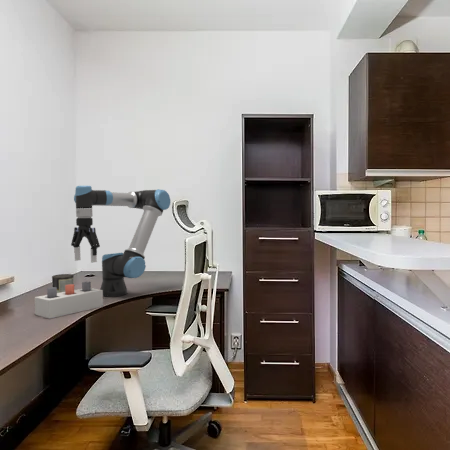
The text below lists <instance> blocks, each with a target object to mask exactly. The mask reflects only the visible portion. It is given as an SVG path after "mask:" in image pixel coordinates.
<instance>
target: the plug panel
mask: <svg viewBox="0 0 450 450" xmlns="http://www.w3.org/2000/svg"><path fill="white" fill-rule="evenodd" d="M103 298H104V296H103V290H100V289H98V288H93V287H91V291H87V292H83V291H82V288H78V289H74V294H71V295H65V292H61V293H57V297H55V298H47V294H45V295H40V296H35V297H34V315H35V316H39V317H42V318H44V319H45V318H46V319H49V320H50V319H54V318H58V317H62V316H68V315H71V314H76V313H79V312H84V311H89V310H93V309H97V308H103V307H104V299H103Z"/></svg>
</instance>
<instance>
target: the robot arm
mask: <svg viewBox="0 0 450 450" xmlns="http://www.w3.org/2000/svg"><path fill="white" fill-rule="evenodd" d="M74 193H75V194H74V195H73V202H74V203H75V215H76V219H75V221H76V222H75V223H76V226H78V227H74V228H73V229H74V230H73V231H74V232H73V235H72V236H73V237H72V238H71V239H72V240H71V244H70V245H71V246H72V247H73V249H74V261H75V262H77V261H81V246H80V245H81V243H82V240H83V238H85V239H87V241H88V243H89V245H90V263H97V262H98V261H97V260H98V259H97V255H98V248H100V247H101V246H100V243H99V239H98V236H97V231H96V227H91V226H93V224H94V223H93V222H94V221H93V218H92V217H93V207H94V206H96V207H97V206H98V207H100V206H102V207H104V206H105V207H107V206H108V207H128V208H129V209H139V210H143V213H142V215H141V218H140V219H139V222H138V225H137V227H136V230H135V232H134V235H133V237H132V239H131V242H130V244H129V247H128V248H127V249H125V250H124V251H123V252H115V253H106V254H103V255H102V257H101V271H102V272H101V273H102V277H101V278H102V281H101V285H100V289H99V290H103V297H112V298H113V297H119V296H120V297H121V296H124V295H127V294H128V288H127V284H126V282H125V278H127V279H136V278H140V277H141V276H143V274H144V273H145V271H146V267H147V265H146V261H145V257H146V256H145V255H144V254H145V251H146V248H147V246H148V243H149V240H150V238H151V235H152V234H153V230H154V228H155V225H156V223H157V221H158V219H159V217H161V216H162V215H163V213H164V211H167V210H168V209H169V208H170V206H171V198H170V195H169V193H168V192H167V191H166V189H144V190H139V191H129V192H111V191H110V190H105V189H104V190H103V189H102V190H101V189H92V185H77V186H76V187H75V190H74Z"/></svg>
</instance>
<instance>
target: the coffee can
mask: <svg viewBox="0 0 450 450" xmlns="http://www.w3.org/2000/svg"><path fill="white" fill-rule="evenodd" d="M74 276H75V275H74V274H71V273H62V274H55V275H52V276H51V279H52V281H51V282H52V287H56V288H57V293H61V292H65V285H69V284H74ZM74 285H75V284H74Z"/></svg>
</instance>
